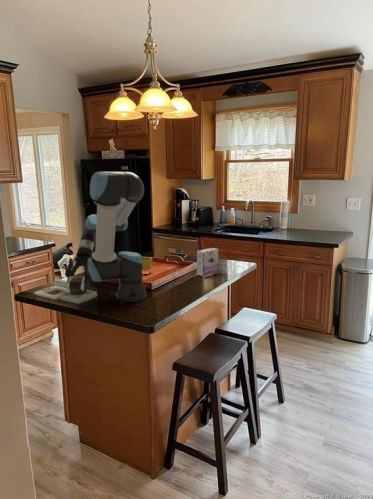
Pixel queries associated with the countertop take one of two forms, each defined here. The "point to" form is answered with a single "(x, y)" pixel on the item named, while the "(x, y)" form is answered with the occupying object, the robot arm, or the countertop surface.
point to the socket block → (49, 289)
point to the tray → (78, 297)
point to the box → (76, 287)
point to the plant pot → (146, 263)
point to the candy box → (207, 261)
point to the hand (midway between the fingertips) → (75, 289)
